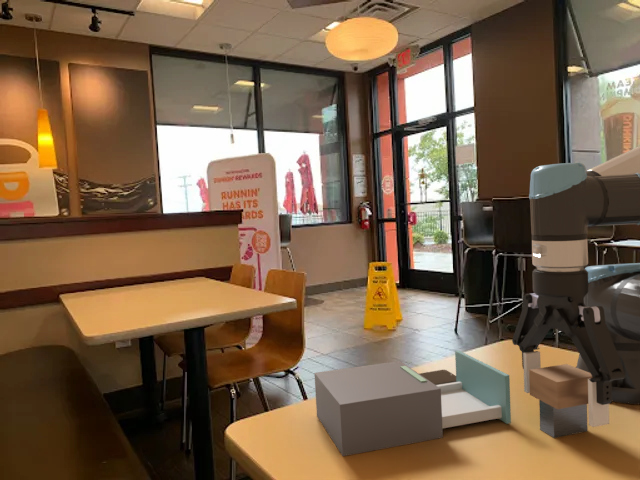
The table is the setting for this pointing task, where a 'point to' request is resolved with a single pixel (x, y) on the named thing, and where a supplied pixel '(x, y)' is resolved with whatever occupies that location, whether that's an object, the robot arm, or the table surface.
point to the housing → (377, 407)
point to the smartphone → (439, 377)
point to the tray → (475, 393)
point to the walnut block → (560, 385)
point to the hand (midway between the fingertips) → (563, 406)
